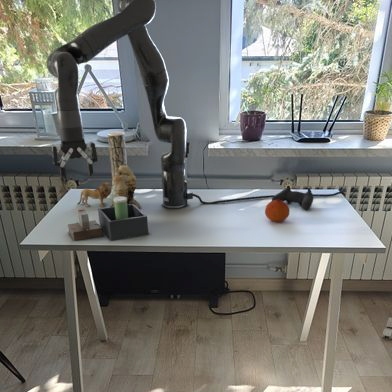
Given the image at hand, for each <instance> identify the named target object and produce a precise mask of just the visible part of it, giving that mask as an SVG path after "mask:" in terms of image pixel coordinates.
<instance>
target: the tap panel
mask: <svg viewBox="0 0 392 392" xmlns="http://www.w3.org/2000/svg"><path fill="white" fill-rule="evenodd" d="M89 226H90V228H86V229H83V228H82V227H81V226H80V224H79V222H75V223H68V224H67V228H68V233H69V234H70V236H71V237H72V239H73V241H82V240H87V239H93V238H100V237H103V230H102V228H101V227H100V223H99V222H97V220H94V219H93V220H89Z"/></svg>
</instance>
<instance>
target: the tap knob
mask: <svg viewBox="0 0 392 392" xmlns="http://www.w3.org/2000/svg"><path fill="white" fill-rule="evenodd" d="M76 211H77V218H78V223H79V224H80V226H81V227H82V228H83V229H86V228H90V226H89V221H90V218H89V213H88V212H87V211H86V209H85V208H79V209H77V210H76Z"/></svg>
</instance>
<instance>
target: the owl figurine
mask: <svg viewBox="0 0 392 392" xmlns="http://www.w3.org/2000/svg"><path fill="white" fill-rule="evenodd" d="M118 174H119V176H115V177H113V180H111V181H112V182H111V183H112V184H111V189H112V196H113V199H114V198H115V197H126V198H127V205H128V204H134V205H135V206H136V207H137V208H139V209H140V208H141V206H140V202H138V200H136V199H135V192H136V190H137V177H136V175H135V174H134V173H133V170H132V169H131V168H130V167H129V166H128V165H127V166H125V165H123V166H120V167H119V168H118ZM114 206H115V205H114V200H112V204H111V205H110V206H109V207H114Z"/></svg>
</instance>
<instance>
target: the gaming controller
mask: <svg viewBox="0 0 392 392" xmlns="http://www.w3.org/2000/svg"><path fill="white" fill-rule="evenodd" d="M313 194H314V193H313V192H312V190H311V188H308V189H307V191H306V192H302V191H297V190H291V186H290V185H288V184H287V186H286V187H285V188H284V189H283V190H281V191H279V192H278V193H276V194H274V195H275V196H273V197H272V198H271V201H274V200H276V199H278V200H282V201H284V202H285V203H287V204H291V203H295V204H298V205H300V206H301V207H302V210H304V211H308V210H310V209H311V207H312V205H313V202H314V196H313Z"/></svg>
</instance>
